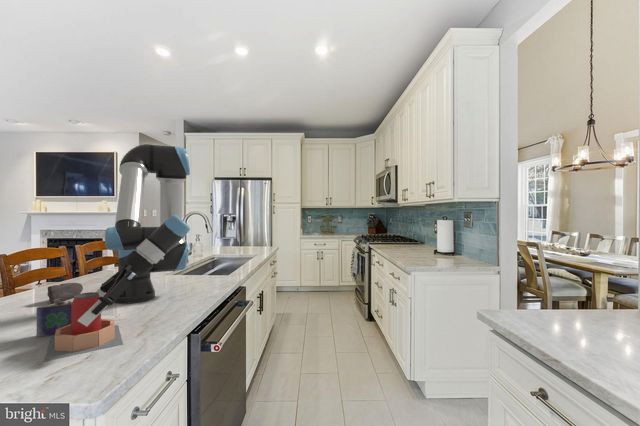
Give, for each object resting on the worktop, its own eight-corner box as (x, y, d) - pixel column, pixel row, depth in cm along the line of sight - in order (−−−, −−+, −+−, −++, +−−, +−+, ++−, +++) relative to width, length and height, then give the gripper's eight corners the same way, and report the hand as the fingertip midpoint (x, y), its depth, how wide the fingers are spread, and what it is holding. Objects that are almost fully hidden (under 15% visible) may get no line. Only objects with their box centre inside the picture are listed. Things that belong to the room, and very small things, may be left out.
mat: (51, 338, 87) (51, 337, 87) (117, 326, 97) (117, 324, 97) (43, 363, 73) (43, 361, 73) (123, 345, 82) (123, 344, 82)
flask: (35, 339, 86) (35, 301, 86) (38, 335, 89) (38, 299, 89) (76, 333, 91) (76, 297, 91) (78, 329, 94) (78, 295, 94)
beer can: (85, 343, 81) (85, 298, 81) (64, 341, 82) (64, 297, 82) (106, 334, 87) (106, 292, 87) (87, 332, 89) (88, 291, 89)
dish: (57, 338, 86) (57, 325, 86) (112, 328, 94) (112, 316, 94) (53, 355, 76) (53, 340, 76) (115, 342, 83) (115, 328, 83)
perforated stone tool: (77, 294, 134) (77, 278, 134) (87, 295, 133) (88, 279, 133) (41, 304, 120) (41, 286, 120) (52, 305, 119) (52, 287, 119)
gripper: (161, 271, 85) (95, 338, 76) (148, 259, 105) (94, 311, 96) (139, 254, 81) (67, 321, 73) (130, 245, 101) (73, 297, 93)
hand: (82, 316), depth 84 cm, fingers open, 13 cm apart
